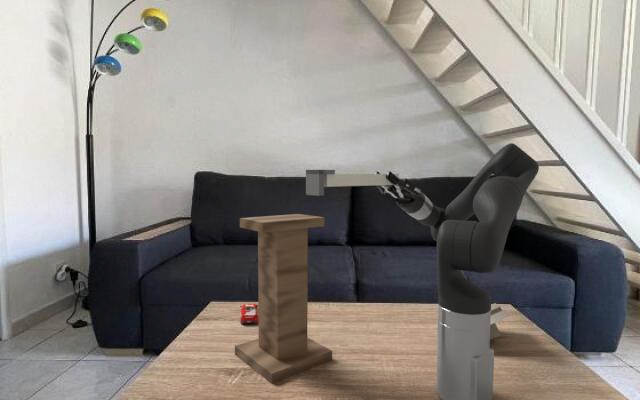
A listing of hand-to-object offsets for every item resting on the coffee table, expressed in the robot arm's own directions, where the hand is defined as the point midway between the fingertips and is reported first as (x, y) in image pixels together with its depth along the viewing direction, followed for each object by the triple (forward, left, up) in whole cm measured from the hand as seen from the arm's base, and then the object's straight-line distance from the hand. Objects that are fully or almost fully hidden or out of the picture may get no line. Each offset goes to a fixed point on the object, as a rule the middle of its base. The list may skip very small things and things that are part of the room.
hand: (381, 174), depth 106 cm
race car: (+27, +26, -42) cm, 57 cm away
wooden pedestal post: (0, +32, -42) cm, 53 cm away
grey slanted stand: (-22, -12, -42) cm, 49 cm away
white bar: (0, +10, -5) cm, 11 cm away
